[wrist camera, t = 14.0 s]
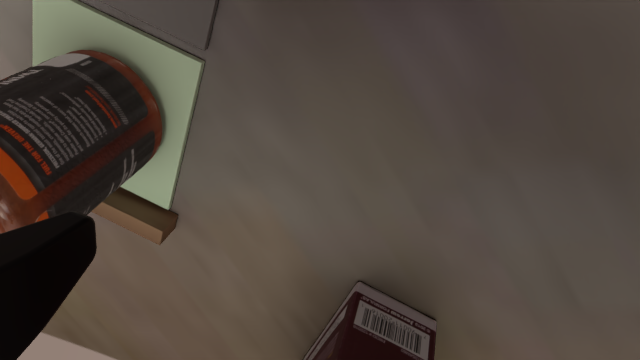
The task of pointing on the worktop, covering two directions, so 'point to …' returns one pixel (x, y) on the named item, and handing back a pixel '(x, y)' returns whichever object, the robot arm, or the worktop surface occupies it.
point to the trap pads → (174, 17)
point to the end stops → (137, 215)
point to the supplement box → (375, 330)
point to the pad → (147, 62)
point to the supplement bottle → (71, 135)
